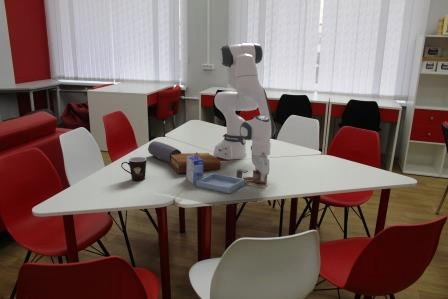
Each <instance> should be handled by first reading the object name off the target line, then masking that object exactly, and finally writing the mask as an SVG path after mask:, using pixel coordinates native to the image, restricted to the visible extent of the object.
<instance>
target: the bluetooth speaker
mask: <svg viewBox="0 0 448 299" xmlns="http://www.w3.org/2000/svg"><path fill="white" fill-rule="evenodd" d="M147 151H148V153H149V155H151V156H154V157H155V158H157V159H158V160H160V161H162V160H163V161H162V162H165V163H169V162H171V156H170V155H171V154H182V151H181V150H180V149H178V148H177V147H174V146H173V145H172V146H171V145H169V144H166V143H164V142H160V141H157V140H156V141H155V140H154V141H152V142H150V143H149V144H148V147H147Z"/></svg>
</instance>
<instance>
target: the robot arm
mask: <svg viewBox="0 0 448 299" xmlns="http://www.w3.org/2000/svg"><path fill="white" fill-rule="evenodd" d="M263 55H264V52H263V48H262V45H261V44H259V43H257V42H253V43H248V42H246V43H243V42H242V43H234V44H230V45H228V44H227V45H223V46H222V47H221V48H220V52H219V55H218V57H219V61H220V62H221V65H223V66H224V67H227V69H226V70H227V84H228V85H229V87H231V88H232V89H233V91H232V90H231V91H230V90H226V91H221V92H220V91H219V92H217V93H216V95H215V96H214V105H215V108H216V109H218V110H219V111H220V112H221V113H222V114H223V116H224V118H225V121H226V122H225V124H226V133H225V134H223V135H222V138H223V140H221V141H220V142H218V143H217V144H216V145H215V146H214V149H213V153H210V154H211V155H212V156H214V157H215V158H217V157H218V158H221V159H224V160H239V159H240V160H241V159H245V158H247V156H248V155H247V154H248V153H247V148H246V146H247V145H246V143H247V141H251V145H250V152H251V163H252V165H253V166H254V170H258V171H259V172H260V174H261V177H260V181H264V178H265V175H267V176H269V174H270V158H269V156H270V155H271V146H272V145H271V144H272V143H271V139H272V138H273V137H274V135H275V133H276V131H277V130H276V129H277V128H276V124H275V122H274V119H273V116H272V112H271V108H270V103H269V100H268V96H267V95H268V94H267V93H266V89H265V88H263V87H262V85H261V83H260V80H259V76H258V75H259V74H258V68H257V64H260V63H261V62H262V60H263ZM257 109H258V111H259V114H260V115H255V116H254V117H253V119H249V120H245V119H244V118H243V117H241V116H240V115H238V114H236V111H237V112H239V111H240V112H241V111H243V112H249V111H255V110H257Z"/></svg>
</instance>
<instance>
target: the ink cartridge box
mask: <svg viewBox="0 0 448 299" xmlns="http://www.w3.org/2000/svg"><path fill="white" fill-rule="evenodd" d="M195 153H196V154H197V155H198V156H199V154H198V153H199V152H195ZM196 154H195V156H187V173H186V178H187V179H186V180H187V181H188V182H190V184H192V185H194V186H195V185H196V181H197V180H199V179H202V178H204V172H203V160H202V159H201V158H199V157H198V156H196Z"/></svg>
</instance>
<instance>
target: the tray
mask: <svg viewBox="0 0 448 299" xmlns="http://www.w3.org/2000/svg"><path fill="white" fill-rule="evenodd" d="M245 181H246V180H245V179H243V178H237V176H236V177H235V176H231V175H226V174H220V173H216V172H212V173H211V174H208V175H206V176H203V178H202V179H199V180H197V181H196V184H195V187H196V188H200V189H205V190H209V191H214V192H218V193H223V194H227V195H231V194H232V193H234V192H235V191H237V190H239V189H240V188H242V187H244V186H246V184H245Z"/></svg>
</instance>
